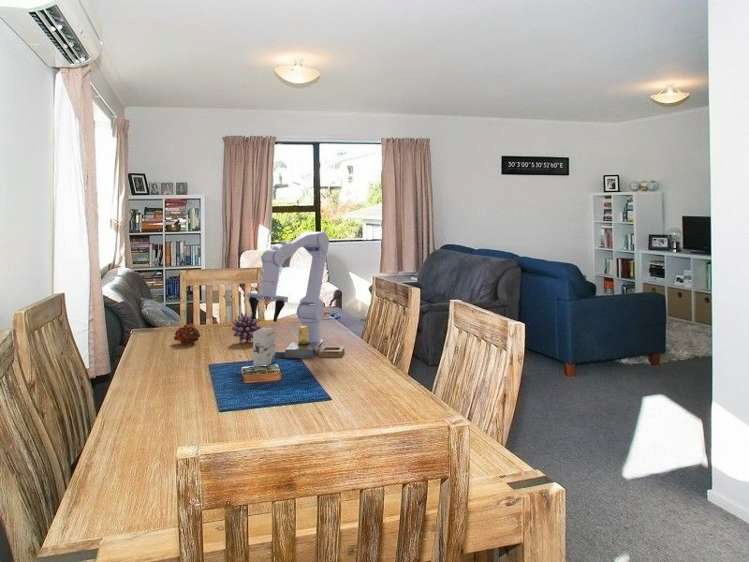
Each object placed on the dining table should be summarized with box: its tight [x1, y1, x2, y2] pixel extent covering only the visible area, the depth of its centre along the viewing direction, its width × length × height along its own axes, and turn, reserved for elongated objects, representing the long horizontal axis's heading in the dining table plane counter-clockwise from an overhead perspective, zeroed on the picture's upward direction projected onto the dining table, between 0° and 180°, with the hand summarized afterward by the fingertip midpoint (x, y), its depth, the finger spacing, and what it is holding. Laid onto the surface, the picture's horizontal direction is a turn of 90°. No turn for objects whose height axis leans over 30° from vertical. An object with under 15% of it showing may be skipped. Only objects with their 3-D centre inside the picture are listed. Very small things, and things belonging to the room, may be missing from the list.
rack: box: [318, 346, 345, 358], centre depth 224 cm, size 8×8×2 cm
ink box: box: [252, 327, 276, 367], centre depth 211 cm, size 9×5×12 cm, turn 168°
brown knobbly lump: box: [173, 323, 201, 345], centre depth 250 cm, size 8×8×12 cm
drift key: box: [275, 350, 285, 358], centre depth 222 cm, size 3×9×3 cm, turn 86°
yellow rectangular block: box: [297, 325, 309, 346], centre depth 228 cm, size 4×4×10 cm
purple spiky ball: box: [231, 312, 262, 343], centre depth 250 cm, size 12×12×12 cm
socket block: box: [284, 341, 320, 359], centre depth 226 cm, size 13×10×3 cm
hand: (264, 320), depth 221 cm, fingers open, 7 cm apart
